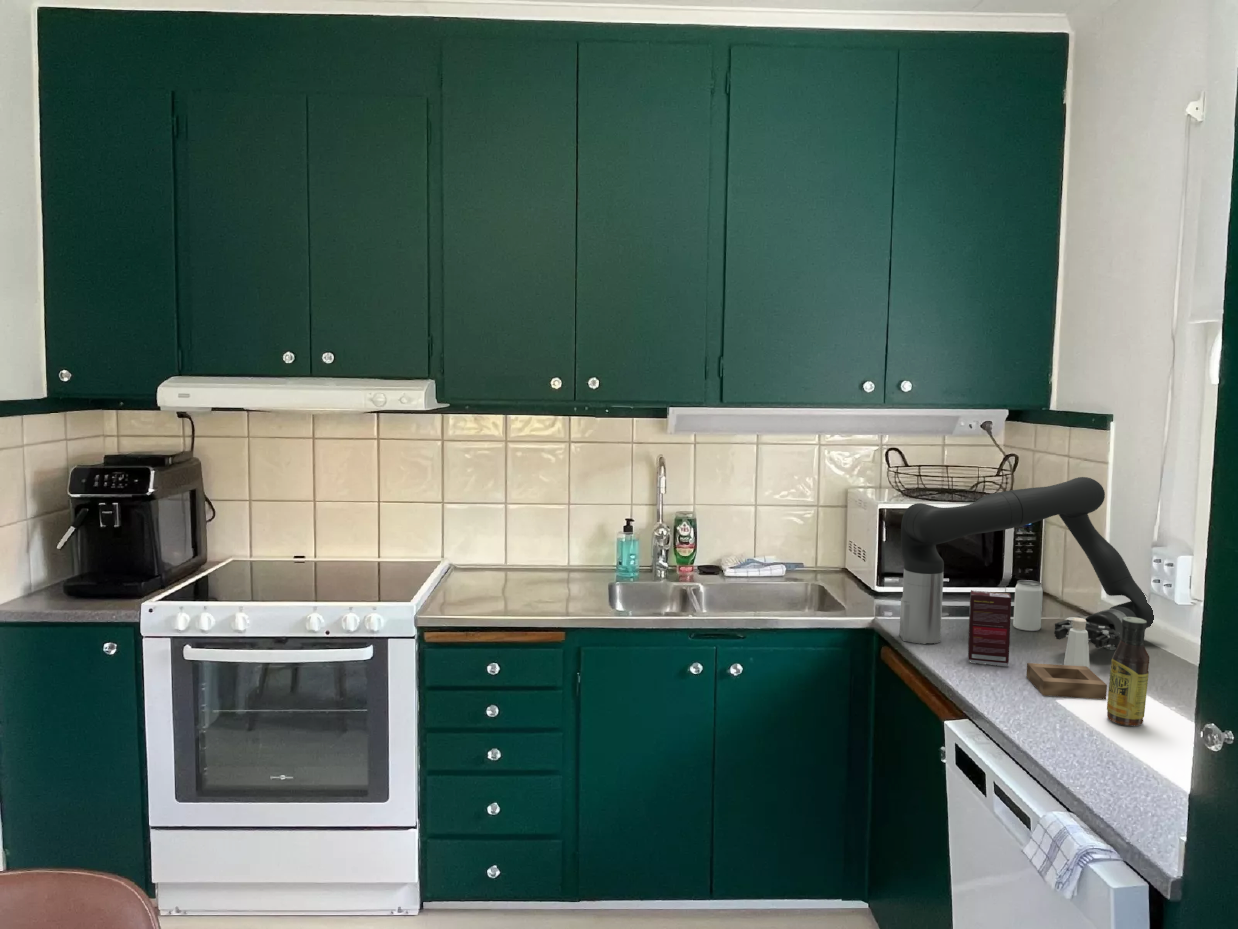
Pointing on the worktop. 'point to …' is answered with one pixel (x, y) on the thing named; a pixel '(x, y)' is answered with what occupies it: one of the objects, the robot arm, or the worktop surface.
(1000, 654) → the supplement box
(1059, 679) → the socket block
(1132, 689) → the sauce bottle
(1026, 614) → the can
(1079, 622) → the pepper shaker
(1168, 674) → the worktop surface
